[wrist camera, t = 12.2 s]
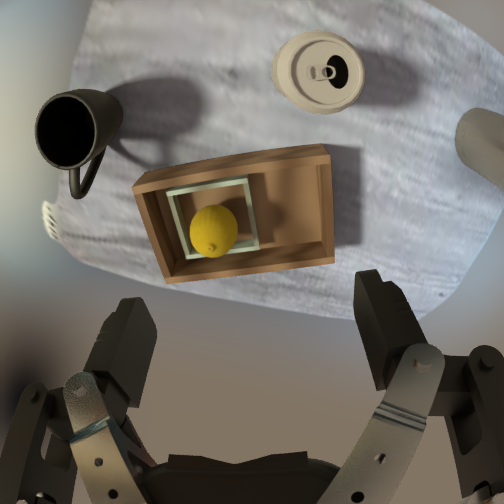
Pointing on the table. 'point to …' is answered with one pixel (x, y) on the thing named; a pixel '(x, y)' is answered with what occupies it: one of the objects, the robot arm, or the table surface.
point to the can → (319, 72)
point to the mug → (77, 133)
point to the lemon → (213, 230)
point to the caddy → (242, 212)
